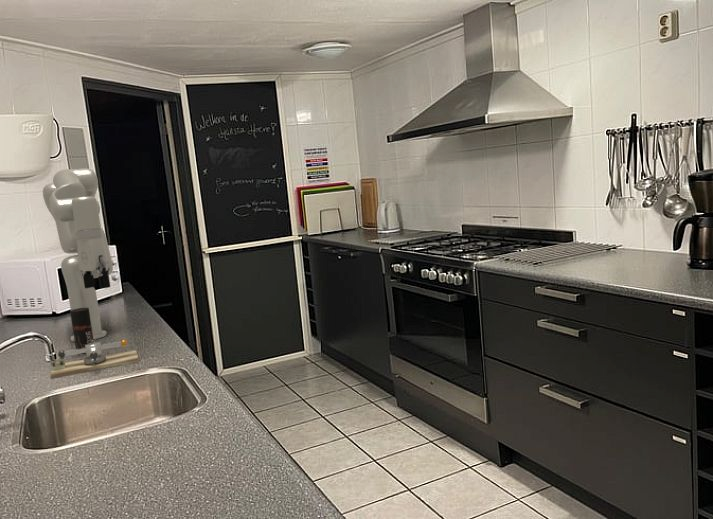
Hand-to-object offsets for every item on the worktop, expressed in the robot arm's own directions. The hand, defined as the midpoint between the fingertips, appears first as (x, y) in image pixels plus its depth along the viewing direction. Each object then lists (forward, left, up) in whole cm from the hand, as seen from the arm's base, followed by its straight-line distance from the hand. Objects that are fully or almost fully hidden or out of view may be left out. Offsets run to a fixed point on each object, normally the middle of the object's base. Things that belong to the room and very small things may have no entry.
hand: (97, 287), depth 194 cm
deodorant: (-13, -7, -24) cm, 28 cm away
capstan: (+7, -4, -22) cm, 23 cm away
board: (+7, -4, -24) cm, 25 cm away
